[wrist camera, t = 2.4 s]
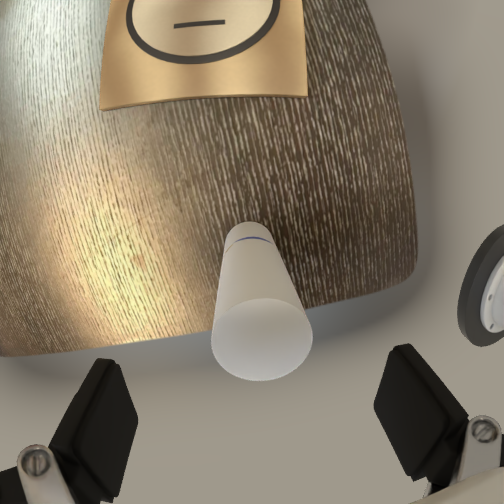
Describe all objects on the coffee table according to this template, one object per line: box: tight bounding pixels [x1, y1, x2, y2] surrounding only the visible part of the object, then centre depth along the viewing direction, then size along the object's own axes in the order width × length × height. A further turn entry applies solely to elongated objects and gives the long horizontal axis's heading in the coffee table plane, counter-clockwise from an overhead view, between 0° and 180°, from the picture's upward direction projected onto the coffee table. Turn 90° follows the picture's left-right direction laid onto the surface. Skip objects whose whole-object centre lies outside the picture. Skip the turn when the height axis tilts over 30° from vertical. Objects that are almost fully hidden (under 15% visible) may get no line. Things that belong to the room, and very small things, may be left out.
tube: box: [211, 221, 313, 381], centre depth 19 cm, size 4×4×15 cm
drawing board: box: [99, 0, 308, 111], centre depth 19 cm, size 18×20×2 cm
